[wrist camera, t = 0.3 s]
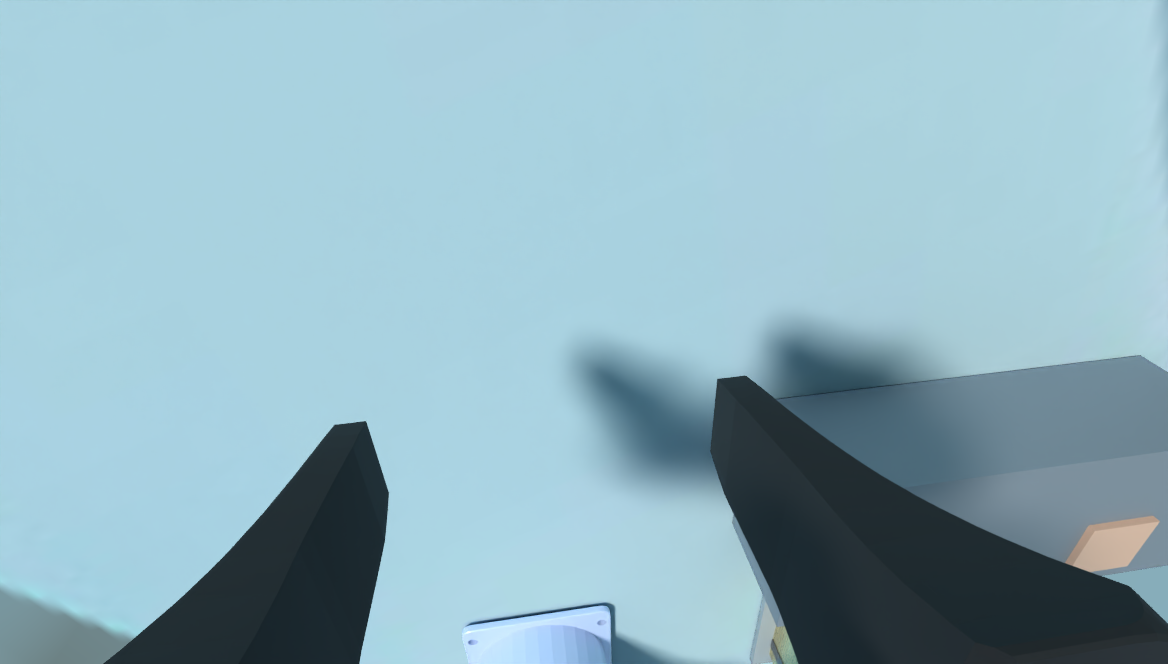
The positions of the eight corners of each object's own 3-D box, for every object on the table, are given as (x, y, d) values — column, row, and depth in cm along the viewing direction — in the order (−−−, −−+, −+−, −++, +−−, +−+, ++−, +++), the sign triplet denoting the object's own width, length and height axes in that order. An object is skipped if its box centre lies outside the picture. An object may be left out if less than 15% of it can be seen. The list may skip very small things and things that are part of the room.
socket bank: (1071, 476, 32) (1176, 570, 27) (732, 523, 31) (779, 633, 26) (1140, 355, 28) (1280, 442, 23) (750, 402, 26) (811, 507, 21)
